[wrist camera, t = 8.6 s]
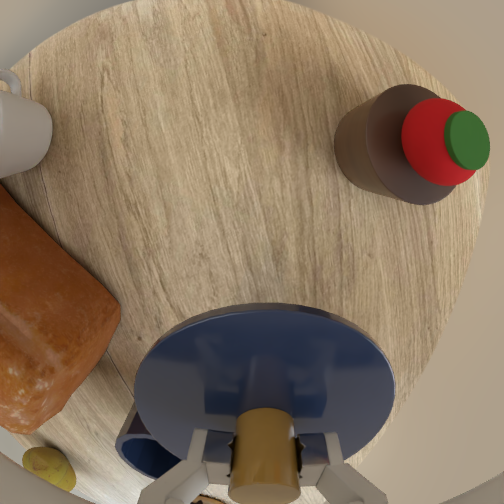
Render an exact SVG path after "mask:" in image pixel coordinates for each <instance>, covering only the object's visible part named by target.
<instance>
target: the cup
mask: <svg viewBox="0 0 504 504" xmlns="http://www.w3.org/2000/svg"><path fill="white" fill-rule="evenodd" d="M0 80H2V81H4V82H6V83H7V84H8V85H9V86H10V88H11V93H9V92H6V91H3V90H0V178H4V177H7V176H10V175H14V174H17V173H21V172H24V171H27V170H29V169H31V168H33V167H35V166H36V165H37V164H38V163H39V162H40V161H41V160H42V159H43V158H44V156H45V154H46V153H47V151H48V148H49V146H50V143H51V138H52V119H51V116H50V114H49V112H48V110H47V109H46V108H45V107H44V106H43V105H41V104H40V103H38V102H35V101H33V100H30V99H27V98H24V97H22V95H21V82H20V79H19V77H18V76H17V75H16V74H15V73H14V72H12V71H10V70H7V69H0Z"/></svg>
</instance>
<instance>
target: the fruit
mask: <svg viewBox="0 0 504 504" xmlns="http://www.w3.org/2000/svg"><path fill="white" fill-rule="evenodd" d="M22 461H23V466H24V468H25V469H27V470H28V471H30V472H32V473H33V474H35V475H37V476H39V477H40V478H42V479H44V480H46V481H48V482H50V483H51V484H53V485H55V486H57V487H59V488H61V489H63V490H65V491H67V492H70V491H71V490H72V489H73V488H74V487H75V485H76V475H75V472H74V470H73V468H72V466H71V464H70V463H69V461H68V460H67V458H66V457H65V456H64V455H63V454H62V453H61V452H60V451H58V450H56V449H53V448H50V447H34V448H31V449H29V450H27V451H26V452H25V453H24V455H23V459H22Z"/></svg>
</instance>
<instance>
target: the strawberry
mask: <svg viewBox="0 0 504 504" xmlns="http://www.w3.org/2000/svg"><path fill="white" fill-rule="evenodd" d="M401 139H402V146H403V150H404V153H405V156H406V158H407V160H408V162H409V163H410V165H411V166H412V168H413V169H414V170H415V171H416V172H417V173H418V174H419V175H420V176H421V177H423V178H424V179H426V180H427V181H429V182H431V183H434V184H437V185H442V186H453V185H458V184H460V183H463V182H465V181H466V180H468V179H469V178H470V177H471V176H472V175H473V174H474V173H475V172H476V170H478V169H480V168H481V167H483V166H484V165H485V163H486V162H487V160H488V157H489V152H490V142H489V136H488V133H487V130H486V128H485V126H484V124H483V122H482V121H481V120H480V118H479V117H478V116H476V115H475V114H474V113H472V112H469V111H466V110H465V109H464V108H463V107H461V106H460V105H458V104H457V103H455V102H452V101H450V100H446V99H441V98H432V99H427V100H424V101H422V102H420V103H418V104H417V105H415V106H414V107H413V108H412V109H411V110H410V111H409V113H408V114H407V116H406V118H405V120H404V123H403V126H402V134H401Z"/></svg>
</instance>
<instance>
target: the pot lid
mask: <svg viewBox="0 0 504 504" xmlns="http://www.w3.org/2000/svg"><path fill="white" fill-rule="evenodd" d="M395 386H396V384H395V377H394V372H393V370H392V367H391V365H390V362H389V360H388V358H387V357H386V355H385V353H384V352H383V350H382V349H381V347H380V346H379V344H378V343H377V342H376V341H375V340H374V339H373V338H372V337H371V336H370V335H369V334H368V333H367V332H365V331H364V330H363V329H361V328H360V327H358V326H357V325H356V324H354V323H352V322H350V321H348V320H346V319H344V318H342V317H340V316H338V315H335V314H332V313H329V312H326V311H323V310H321V309H317V308H312V307H307V306H302V305H296V304H286V303H248V304H240V305H231V306H227V307H223V308H219V309H214V310H210V311H208V312H205V313H202V314H199V315H196V316H194V317H191V318H189V319H187V320H185V321H183V322H182V323H180V324H178V325H176V326H174V327H173V328H172V329H170V330H169V331H167V332H166V333H165V334H163V335H162V336H161V337H160V338H159V339H158V340H157V341H156V342H155V343H154V344H153V345H152V346H151V348H150V349H149V351H148V352H147V354H146V355H145V357H144V358H143V360H142V362H141V364H140V366H139V369H138V371H137V373H136V377H135V383H134V399H135V404H136V409H137V411H138V414H139V416H140V418H141V420H142V422H143V424H144V425H145V427H146V429H147V430H148V431H149V432H150V434H151V435H152V436H153V437H154V438H155V439H156V440H157V441H158V442H159V443H160V444H161V445H162V446H163V447H164V448H165V449H167V450H168V451H169V452H171V453H172V454H173V455H175V456H177V457H178V458H180V459H181V460H187V456H188V452H189V448H190V444H191V440H192V435H193V431H194V429H195V428H201V429H209V430H217V431H225V432H234V446H233V451H232V465H231V473H230V478H229V488H228V496H229V498H230V499H232V500H233V501H235V502H237V503H239V504H288V503H291V502H293V501H295V500H296V499H298V498H299V496H300V494H301V489H300V477H299V465H298V454H297V443H296V437H297V434H305V433H327V432H336V433H337V435H338V439H339V443H340V447H341V452H342V456H343V460H346V459H347V458H349V457H351V456H352V455H354V454H355V453H357V452H358V451H359V450H361V449H362V448H363V447H364V446H366V445H367V444H368V443H369V442H370V441H371V440H372V439H373V438H374V437H375V436H376V434H377V433H378V432H379V431H380V430H381V428H382V427H383V425H384V424H385V422H386V420H387V419H388V417H389V414H390V412H391V410H392V407H393V403H394V399H395Z"/></svg>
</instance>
